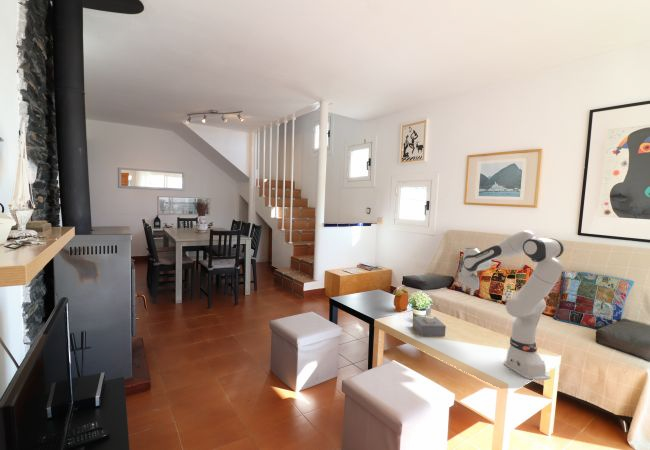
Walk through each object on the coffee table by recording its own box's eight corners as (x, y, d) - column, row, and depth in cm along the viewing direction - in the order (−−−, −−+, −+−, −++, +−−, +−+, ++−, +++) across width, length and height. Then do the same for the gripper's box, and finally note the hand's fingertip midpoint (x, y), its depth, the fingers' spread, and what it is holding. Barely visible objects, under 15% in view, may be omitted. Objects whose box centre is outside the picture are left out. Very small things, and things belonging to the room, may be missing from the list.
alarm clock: (402, 307, 269) (403, 283, 267) (408, 309, 264) (410, 285, 262) (392, 311, 260) (394, 286, 258) (399, 313, 255) (400, 288, 253)
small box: (425, 318, 245) (426, 305, 244) (430, 321, 240) (431, 307, 239) (416, 319, 242) (417, 306, 241) (421, 322, 237) (422, 308, 236)
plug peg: (432, 332, 220) (433, 317, 219) (426, 332, 219) (427, 317, 218) (430, 330, 224) (431, 315, 223) (424, 330, 224) (425, 314, 223)
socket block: (445, 336, 214) (445, 325, 214) (421, 336, 213) (422, 325, 212) (434, 326, 230) (435, 316, 230) (412, 326, 229) (413, 316, 228)
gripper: (483, 275, 203) (481, 297, 204) (466, 268, 223) (464, 288, 224) (473, 275, 202) (471, 297, 204) (457, 268, 223) (455, 288, 224)
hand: (467, 292), depth 214 cm, fingers open, 8 cm apart
